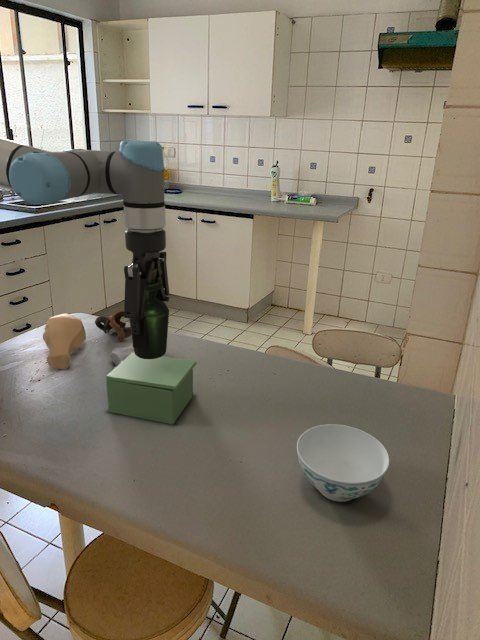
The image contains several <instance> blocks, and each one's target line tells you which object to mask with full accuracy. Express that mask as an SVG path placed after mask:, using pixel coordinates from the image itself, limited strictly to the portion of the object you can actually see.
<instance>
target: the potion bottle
mask: <svg viewBox="0 0 480 640" xmlns="http://www.w3.org/2000/svg"><path fill="white" fill-rule="evenodd" d="M156 272H157V269H154V270H153V271H152V277H151V283H150V284H148V287H147V294H146V301H145V308H144V315H143V317H146V334H147V348H146V349H140V348H134V352H135V355H136V356H138V357H139V358H142V359H156V358H159V357H162V356H164V355H166V352H167V349H168V348H167V347H168V333H169V321H170V320H169V318H170V317H169V316H170V310H169V307H168V306H167V304H166V302H165V303H163V302H161V301H159V300H157V299H156V294H157V290H158V289H160V288H162V287H163V285H162V282H161V280H160V279H158V278H156ZM140 279H146V278H140ZM128 320H129V327H131V333H132V323H131V319H130V318H128Z"/></svg>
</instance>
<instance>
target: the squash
mask: <svg viewBox="0 0 480 640" xmlns="http://www.w3.org/2000/svg"><path fill="white" fill-rule="evenodd" d="M42 340H43V341H44V344H45V345H46V347H47V348H48V352H49V353H48V355H47V356H46V362H47V365H48V366H49V367H50V368H51V369H61V370H66V369H68V368H69V367H70V364H71V355H72V353H74V352H77V351H78V350H79V349H81V347H82V345H83V344H84V343H85V341H86V340H87V333H86V329H85V326H84V324H83V321H82V319H81V318H79V317H76V316H74V315H72V314H69V313H60V314H57V315H53V316H51V317H49V318H48V320H47V321H46V323H45V326H44V332H43V333H42Z"/></svg>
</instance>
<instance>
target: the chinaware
mask: <svg viewBox="0 0 480 640" xmlns="http://www.w3.org/2000/svg"><path fill="white" fill-rule="evenodd" d="M296 454H297V459H298V463H299V466H300V469H301V471H302V473H303V475H304V477H305V478H306V479H307V481H308V482H309V483H310V484H311V485H312V486H313V488H315V489H316V490H317V491H319V492H320V494H321V495H323V496H324V497H325V498H327V499H328V500H331V501H334V502H348V501H351V500H354V499H358V498H361V497H364V496H366V495H367V494H369V493H370V492H372V491H373V490H375V489H376V488H377V486H379V484H380V483H381V482H382V480H383V479H384V477H385V476H386V474H387V471H388V469H389V466H390V456H389V455H390V454H389V453H388V450H387V449H386V447H385V446H384V445H383V444H382V442H381V441H379V440H378V439H377V437H374V436H373V435H372V434H370V433H368V432H366V431H364V430H361V429H359V428H356V427H353V426H349V425H344V424H338V423H337V424H336V423H335V424H334V423H327V424H326V423H325V424H320V425H319V424H318V425H316V426H313V427H310V428H308V429H306V430H305V431H303V433H302V434H300V436H299V438H298V439H297V442H296Z"/></svg>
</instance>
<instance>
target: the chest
mask: <svg viewBox="0 0 480 640" xmlns="http://www.w3.org/2000/svg"><path fill="white" fill-rule="evenodd" d="M105 381H106V395H107V405H108V406H107V407H108V408H107V409H108V412H109V413H113V414H118V415H123V416H128V417H133V418H137V419H143V420H147V421H154V422H158V423H162V424H163V423H164V424H168V425H174V423H176V421H177V419H178V418H179V417H180V415H181V414H182V412H183V411H184V409H185V408H186V407H187V405H188V404H189V403H190V401H191V400H192V398H193V396H194V368H193V369H192V370H191V371H190V373H189V374H188V375H187V376H186V378H185V379H184V380H183V382H182V383H181V384H180V385H179V387H178V388H177V389H176V390H173V389H167V388H160V387H153V386H147V385H140V384H134V383H127V382H120V381H114V380H107V379H105Z"/></svg>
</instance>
